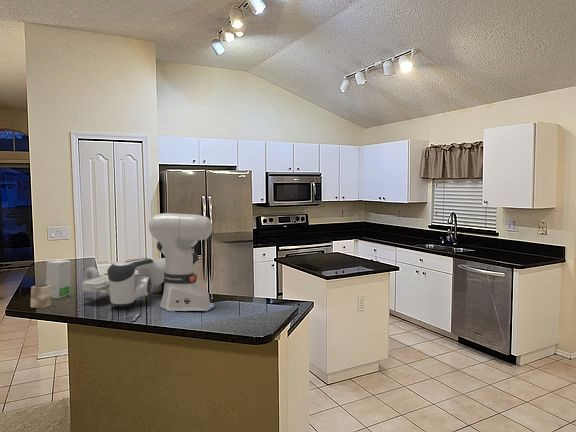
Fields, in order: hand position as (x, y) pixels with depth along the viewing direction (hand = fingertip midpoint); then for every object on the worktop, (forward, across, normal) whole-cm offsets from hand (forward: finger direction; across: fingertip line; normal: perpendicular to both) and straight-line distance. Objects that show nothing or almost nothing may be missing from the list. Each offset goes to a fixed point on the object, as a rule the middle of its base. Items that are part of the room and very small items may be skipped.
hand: (84, 281), depth 182 cm
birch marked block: (+8, -16, -8) cm, 19 cm away
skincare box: (+12, 0, -8) cm, 14 cm away
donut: (+9, +21, -8) cm, 24 cm away
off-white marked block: (-2, +16, -8) cm, 18 cm away
